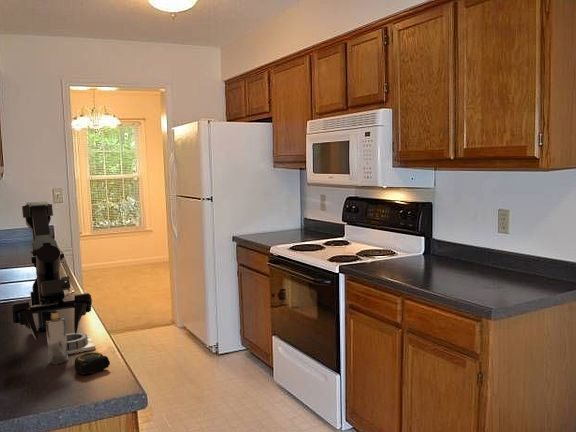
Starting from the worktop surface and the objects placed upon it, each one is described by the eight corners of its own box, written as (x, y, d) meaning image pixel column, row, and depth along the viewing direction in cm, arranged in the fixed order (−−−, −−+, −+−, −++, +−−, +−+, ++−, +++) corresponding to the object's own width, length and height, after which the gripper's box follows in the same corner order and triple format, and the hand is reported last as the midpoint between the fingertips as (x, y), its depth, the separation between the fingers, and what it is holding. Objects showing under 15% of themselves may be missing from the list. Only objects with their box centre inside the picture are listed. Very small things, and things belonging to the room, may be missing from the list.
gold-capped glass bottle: (48, 359, 140) (44, 312, 138) (67, 356, 142) (63, 309, 140) (49, 365, 136) (45, 316, 134) (69, 361, 138) (65, 313, 137)
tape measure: (83, 379, 126) (81, 364, 126) (70, 372, 131) (69, 357, 131) (110, 370, 131) (109, 355, 131) (97, 363, 136) (96, 349, 135)
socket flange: (47, 345, 151) (46, 336, 150) (89, 338, 156) (88, 328, 155) (51, 357, 141) (50, 347, 141) (95, 349, 146) (94, 339, 146)
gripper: (8, 271, 136) (13, 326, 127) (87, 262, 144) (97, 313, 135) (11, 296, 143) (15, 349, 135) (86, 286, 152) (95, 335, 143)
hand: (56, 336), depth 137 cm, fingers open, 9 cm apart
